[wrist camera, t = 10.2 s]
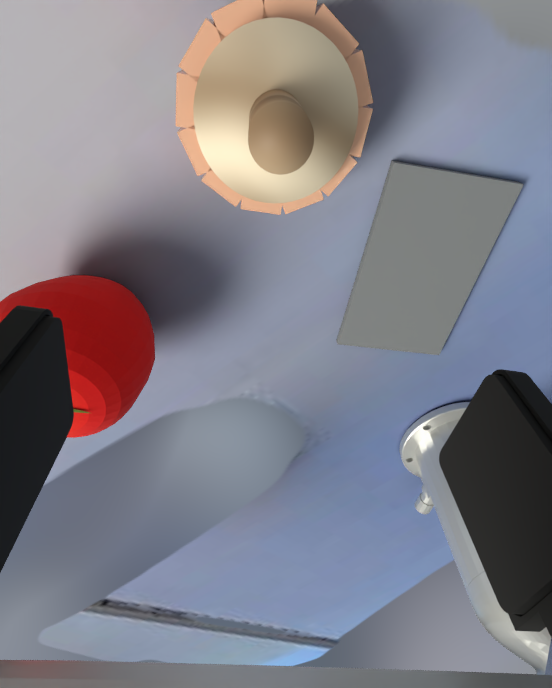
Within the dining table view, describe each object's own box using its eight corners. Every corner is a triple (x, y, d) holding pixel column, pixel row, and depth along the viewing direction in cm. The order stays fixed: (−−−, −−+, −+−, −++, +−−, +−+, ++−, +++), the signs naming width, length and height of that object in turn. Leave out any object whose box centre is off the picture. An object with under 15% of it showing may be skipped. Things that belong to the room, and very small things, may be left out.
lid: (333, 206, 27) (350, 246, 22) (192, 185, 26) (177, 221, 21) (373, 36, 22) (409, 38, 17) (200, 0, 21) (183, -9, 16)
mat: (436, 351, 41) (439, 355, 40) (336, 340, 39) (337, 344, 39) (519, 182, 31) (523, 184, 31) (391, 160, 30) (394, 162, 30)
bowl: (332, 201, 32) (342, 224, 28) (183, 179, 30) (174, 199, 27) (376, 19, 25) (397, 17, 22) (190, -21, 24) (178, -31, 20)
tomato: (191, 330, 38) (168, 441, 28) (93, 371, 40) (39, 487, 30) (112, 219, 32) (45, 310, 21) (2, 276, 34) (-107, 382, 24)
